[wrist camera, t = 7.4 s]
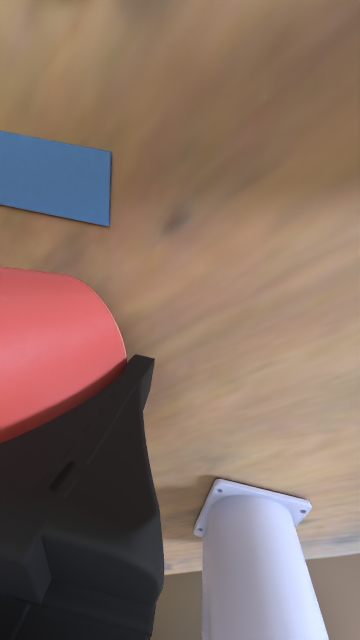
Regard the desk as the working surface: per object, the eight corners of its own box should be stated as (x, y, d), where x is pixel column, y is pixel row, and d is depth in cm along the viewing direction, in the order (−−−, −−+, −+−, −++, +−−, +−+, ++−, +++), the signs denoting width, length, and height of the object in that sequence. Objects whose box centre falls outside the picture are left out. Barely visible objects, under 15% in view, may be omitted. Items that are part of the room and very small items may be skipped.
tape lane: (102, 435, 17) (102, 436, 16) (-44, 399, 17) (-45, 400, 17) (111, 152, 9) (110, 151, 9) (-158, 101, 9) (-162, 100, 9)
